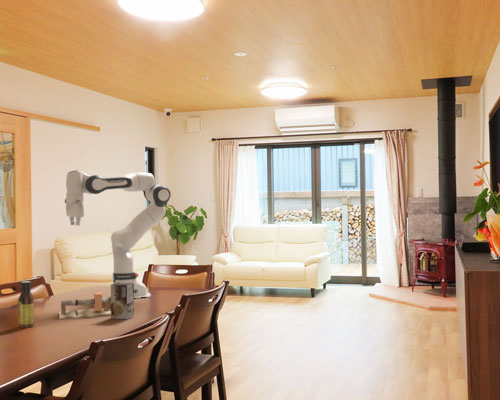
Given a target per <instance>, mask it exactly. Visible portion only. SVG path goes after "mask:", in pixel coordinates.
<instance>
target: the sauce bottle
mask: <svg viewBox="0 0 500 400" xmlns="http://www.w3.org/2000/svg"><path fill="white" fill-rule="evenodd" d="M31 285H32V281H31V280H30V281H29V280H23V281H20V287H21V289H20V290H21V291H20V295H19V297H18V300H17V303H18V304H17V305H18V307H17V308H18V309H17V312H18V320H17V321H18V327H19V328H21V329H26V328H28V329H29V328H31V327H34V325H35V324H34V322H35V314H34V313H35V307H34V306H35V303H34V295H33V294H32V292H31V291H32V290H31Z"/></svg>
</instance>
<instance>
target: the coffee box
mask: <svg viewBox="0 0 500 400" xmlns="http://www.w3.org/2000/svg"><path fill="white" fill-rule="evenodd" d="M110 311H111V315H110V319H116V320H117V319H119V320H129V319H132V318H135V299H134V283H114V284H113V283H111V284H110Z"/></svg>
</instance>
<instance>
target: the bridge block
mask: <svg viewBox="0 0 500 400" xmlns="http://www.w3.org/2000/svg"><path fill="white" fill-rule="evenodd" d="M102 298H103V294H102V292H101V291H94V292H93V299H95V304H93V309H95V311H102V308H103V303H102Z"/></svg>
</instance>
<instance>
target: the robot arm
mask: <svg viewBox="0 0 500 400" xmlns="http://www.w3.org/2000/svg"><path fill="white" fill-rule="evenodd" d="M155 181H156V180H155V177H154V175H153V173H150V172H145V171H143V172H141V171H137V172H135V171H134V172H129V173H124V174H123V175H121V176H118V177H104V176H100V175H97V174H96V175H95V174H94V175H89V174H87V173H85V172H83V171H82V170H81V169H78V170H77V169H76V170H72V171H69V172H68V173H66V179H65V182H66V183H65V185H66V186H65V187H66V193H65V194H66V195H65V199H64V203H65V212H66V216H67V217H69V221H70V225H71V226H80V225H81V223H80V222H81V220H82V219H81V218H83V217H84V215H85V210H84V208H85V207H84V194H85V193H86V194H88V195H93V194H94V195H98V194H101V193H103V192H105V191H107V190H115V189H120V190H123V191H124V192H143V196H144V198H145V200H146V201H147V202H149V204H148V205H147V207H146V208H145V209H144V210H142V211H141V212H139V213H138V214H137V215H136V216H135V217H133V218H132V219H131V221H130V222H129V223H128V224H127V226H126V227H124V228H118V229H116V230H115V231H113V232H112V233H111V236H110V241H111V248H112V249H111V250H112V256H113V257H112V258H113V273H112V284H114V283H134V298H136V299H142V298H141V297H146V298H150V297H151V296H152V295H151V293H150V292H148V290H147V287H146V285H145V283H143V281H141V280H139V279H138V277H139V273H137V272H134V256H133V253H132V248H134V247H135V246H136V244H137V243H138V242H139V241H140V240H141V239H142V238H143V237H144V235H145V234H146V233H148V232H149V231H150V230H151V229H152V228H153V227H155V226H156V225H157V224H158V223H159V222H160V221H161V220H162V219H163V218H164V217H165V215H166V213H167V210H166V206H167V205H168V203H169V200H170V198H171V197H172V195H171V194H172V193H171V190H170V189H169V188H168V187H167V186H165V185H161V184H157V183H156V182H155ZM75 219H76V220H75Z"/></svg>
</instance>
